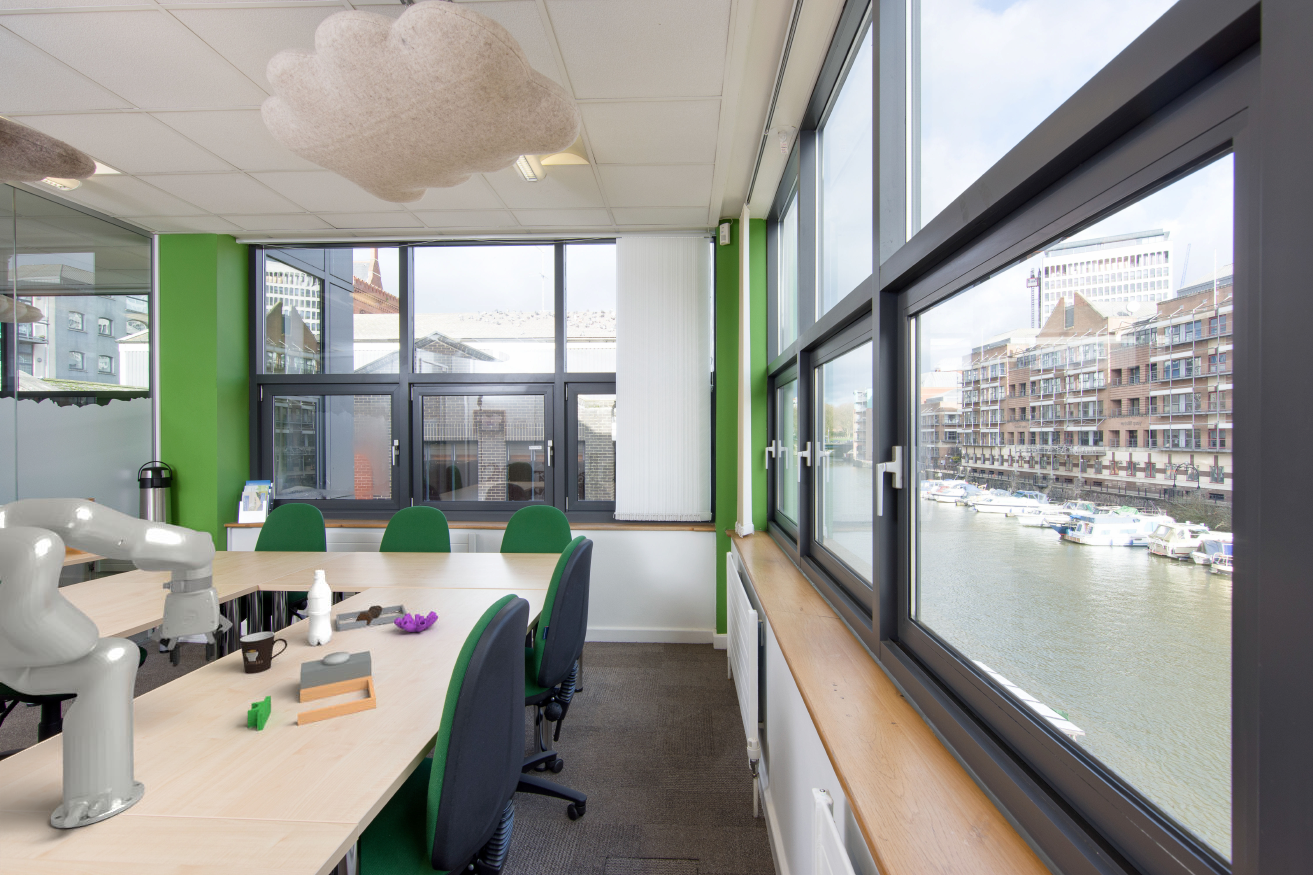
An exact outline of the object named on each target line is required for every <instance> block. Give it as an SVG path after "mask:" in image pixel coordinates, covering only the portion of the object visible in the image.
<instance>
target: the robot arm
mask: <svg viewBox="0 0 1313 875" xmlns="http://www.w3.org/2000/svg"><path fill="white" fill-rule="evenodd" d="M66 547H67V548H71V549H73V550H78V551H82V552H85V553H88V554H91V555H95V556H99V557H101V558H106V559H112V560H122V561H123V560H124V561H132V562H131V563H132V564H133V565H134V567H136V569H138V570H141V571H144V572H150V573H151V572H152V573H154V572H156V573H158V572H170V580H169V581H168V582H163V584H162V589H163V590H165V589H167V590H169V591H170V592H168V593H167V594H166V596H165V599H164V605H163V614H162V623H161V624H160V625H159V626H158V627H157V629H155V630H154V631H153V633H151V635H150V639H151V640H153V641H155V642H157V643H159V644H160V645H161V646H164V647H165V648H166V649H167V650H168V651H169V663H171V664H172V667H173V668H175V667H177V666H178V665H179V664H180V662H181V654H180V653H181V652H180V651H181V650H180V648H181V646H179V644H178V642H179V639H180V638H182V637H190V636H197V635H203V634H204V636H205V638H206V641H207V642H206V644H205V662H210V661H211V660H212V658H213V657H214V656H215V654H216V641H217V640H218V639H219V638H220V637H221V636H222V635H223V634H224V633H225V632H227V631H228V630H230V628H232V626H233V623H232V621H230V620H229V619H227V618H226V617H225V616H224V615H222V614H221V611H220V600H219V595H218V591H217V588H216V587H215V586H213V585H214V584H213V560H214V558H215V556H216V546H215V543H214V541H213V536H212V534H211V533H210V532H207V531H200V530H199V531H197V530H196V529H195V530H194V529H192V528H188V527H183V526H180V525H174V524H171V523H170V524H169V523H165V522H164V523H163V522H159V521H154V520H149V519H148V520H147V519H144V518H138V517H134V516H131V515H128V514H126V513H124V512H120V511H118V510H116V509H113V508H111V507H108V506H106V505H103V504H100V503H99V502H95V501H93V500H90V499H86V498H82V497H81V498H79V497H51V498H49V497H48V498H25V499H19V500H15V501H12V502H9V503H6V504H3V505H0V682H1V683H2V684H4V685H5V686H8V687H9V688H11V689H12V690H15V691H16V692H19V693H22V694H26V695H31V696H40V695H42V696H45V695H57V694H58V695H61V694H76V695H77V696H76V698H75V700H74V702H73V703H72V705H70V707H69V708H68V710H67V711H66V713H65V714H64V717H63V720H62V725H61V726H62V727H61V728H62V729H61V730H62V731H61V732H62V803H61V804H60V805H58V807H57V808H55V809H54V810H53V812H52V813H51V815H50V824H51V826H53V827H55V828H58V829H71V828H78V827H83V826H87V825H91V824H95V823H97V822H100V821H103V820H106V819H109V818H110V817H111V818H112V817H113V816H115V815H117V814H120V813H121V812H123V811H125V810H127V809H128V808H131V807H132V806H133V805H135V803H137V802H138V801H139V800H141V799H142V797H143V796H144V794H145V784H144V783H143V782H141V781H138V780H134V779H135V778H134V777H135V776H134V775H135V774H134V773H135V772H134V771H135V770H134V769H135V766H134V764H135V762H134V760H135V759H134V758H135V756H134V694H135V692H134V691H135V684H136V678H137V673H138V669H139V666H140V661H141V652H140V648H139V646H138V645H137V643H136V642H134V641H133V640H131V639H128V638H125V637H116V636H115V637H114V636H108V637H105V636H104V637H100V632H99V629H98V627H97V625H96V623H95V622H94V620H92V619H91V618H90V617H89V616H88V615H87V614H86V613H85V612H83V611H82V610H81V609H80V608H78V607H77V606H76V605H75V604H73V603H72V602H71V601H70V600H68V599H67V598H66V597H65V596H64V595H63V594H62V593H61V592H60V590H59V581H60V577H61V572H62V569H63V565H64V562H65V558H66ZM219 625H221V626H222V627H221V628H219ZM218 628H219V629H218ZM217 629H218V630H217ZM216 630H217V631H216ZM215 631H216V632H215Z"/></svg>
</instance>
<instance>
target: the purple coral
mask: <svg viewBox="0 0 1313 875" xmlns="http://www.w3.org/2000/svg"><path fill="white" fill-rule="evenodd" d="M438 619H439V615H437V613H436V612H435V611H433V610H431V611H430V612H429V613H428V614H427V616H424V615H421V614H420V613H417V614H414V618H413V616H412V615H411V613H407V614H406V615H405V617H403V618H402V619H400V618H399V617H398V618H397V619H395V620H394V623H393V624H394V625H395V626H396V627H397V628H398V629H401V630H404V631H406V632H410V633H417V632H418V633H420V632H422V631H424V630H427V629H428V628H431V626H433V625H434V624H435V623H436V622H437V621H438Z"/></svg>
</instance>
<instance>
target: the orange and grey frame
mask: <svg viewBox="0 0 1313 875" xmlns="http://www.w3.org/2000/svg"><path fill="white" fill-rule="evenodd" d="M299 673H300V674H299V676H300V683H299V684H300V692H299V702H300V704H301V703H307V702H310V701H315V700H320V699H324V698H330V697H335V696H339V695H344V694H349V693H353V692H358V691H364V690H368V696H369V697H367V698H362V699H357V700H354V701H348V702H344V703H339V704H335V705H331V706H326V707H320V708H318V709H316V708H315V709H313V710H312V709H311V710H307V711H302V712H298V713H297V726H301V725H306V724H310V723H315V722H319V721H323V720H328V719H332V718H337V717H342V716H345V715H350V714H354V713H359V712H364V711H368V710H373V709H376V708H377V700H376V699H377V698H376V697H377V696H376V691H375V687H374V686H375V685H374V683H373V676H372V657H371V652H370V650H367V651H361V652H357V653H356V652H355V653H350V652H348V651H338V652H337V651H336V652H332V653H330V654H329V653H328V654H326V655H325V656H324V657H323V658H322V659H317V660H312V661H311V660H310V661H304V662H301V665H300V672H299Z"/></svg>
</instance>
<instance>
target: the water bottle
mask: <svg viewBox="0 0 1313 875" xmlns="http://www.w3.org/2000/svg"><path fill="white" fill-rule="evenodd" d="M313 579H314V580H313V583H312V585H311V587H310V588H309V590H308V593H307V613H308V621H309V623H308V624H309V625H308V626H309V627H308V633H307V640H308V642H309V644H310V645H311V646H312V647H315V646H317V645H318V644H320V645H321V646H324V645H327V643H329V642H331V639H332V636H333V630H332V625H331V612H332V594H333V593H332V590H331V588H330V586H329V584H328V583H327V582H326V574H325V569H316V570H314V575H313Z"/></svg>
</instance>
